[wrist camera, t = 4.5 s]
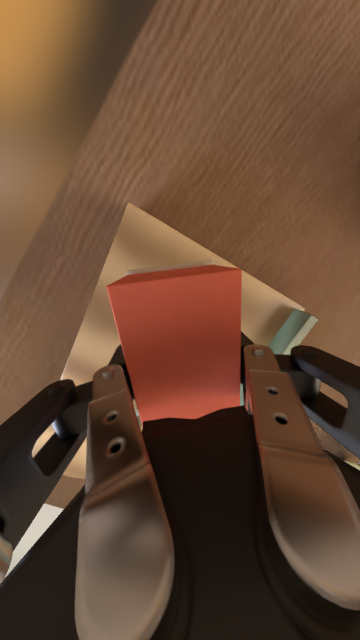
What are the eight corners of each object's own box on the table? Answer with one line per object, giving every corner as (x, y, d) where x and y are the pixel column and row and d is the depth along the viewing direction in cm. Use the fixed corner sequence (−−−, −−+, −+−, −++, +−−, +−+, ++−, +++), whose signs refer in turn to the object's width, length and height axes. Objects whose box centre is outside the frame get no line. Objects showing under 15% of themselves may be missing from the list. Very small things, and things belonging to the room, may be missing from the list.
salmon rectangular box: (129, 269, 11) (103, 279, 6) (208, 260, 11) (242, 262, 6) (158, 414, 15) (157, 485, 10) (216, 404, 15) (239, 471, 10)
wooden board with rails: (134, 212, 15) (122, 191, 11) (285, 301, 20) (324, 314, 15) (43, 442, 23) (12, 490, 18) (166, 470, 27) (167, 515, 22)
